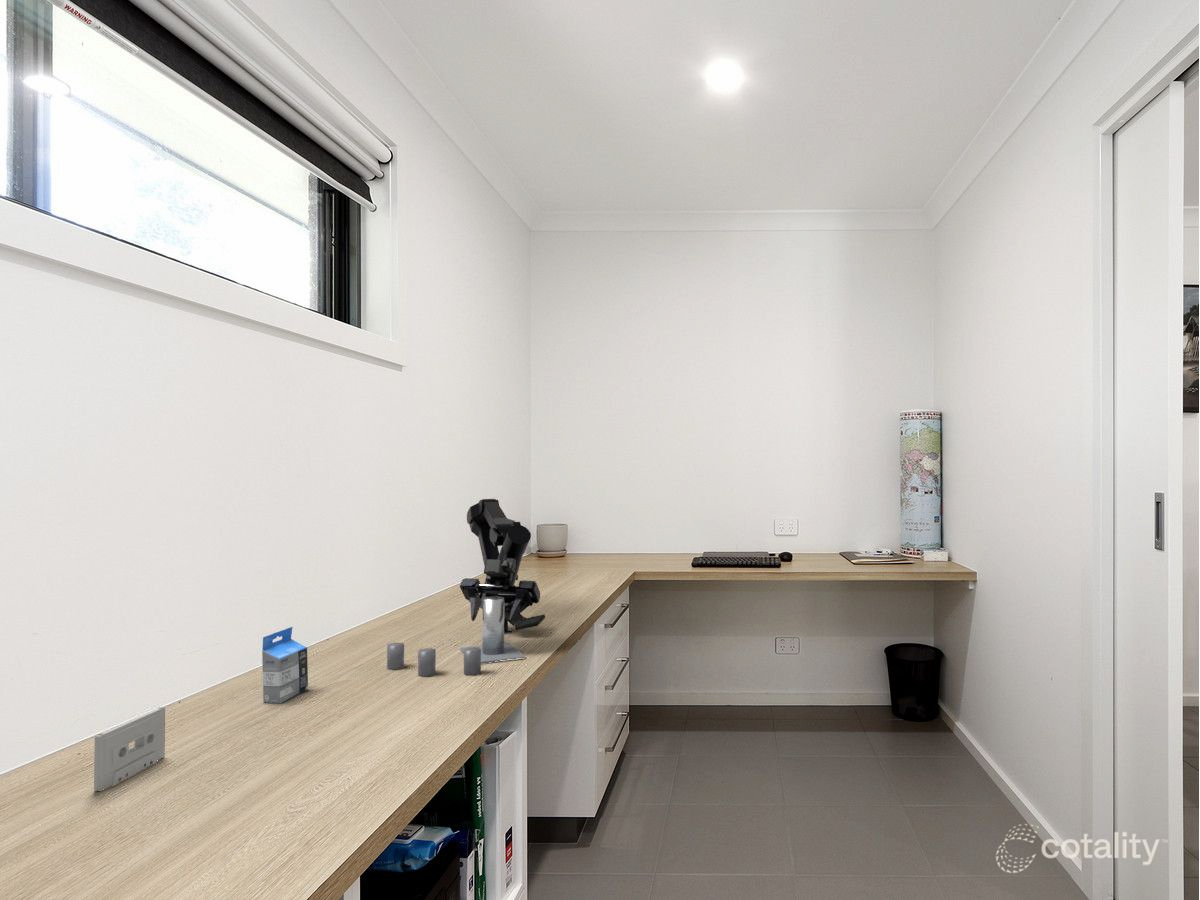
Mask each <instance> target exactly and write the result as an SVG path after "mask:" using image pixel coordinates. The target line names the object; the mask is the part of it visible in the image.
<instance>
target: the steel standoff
mask: <svg viewBox="0 0 1200 900" xmlns="http://www.w3.org/2000/svg"><path fill="white" fill-rule="evenodd" d="M481 643H482V645H481V646H482V653H483V654H486V655H498V654H502V653H504V643H505V633H504V597H498V596H491V597H485V598H483V609H482V642H481Z"/></svg>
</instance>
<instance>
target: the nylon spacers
mask: <svg viewBox="0 0 1200 900" xmlns="http://www.w3.org/2000/svg"><path fill="white" fill-rule="evenodd" d="M470 647H471V648H466V649H464V654H463V675H464V676H468V675H473V676H477V674H479V675H481V673H482V664H481V649H480V648H477V647H473V646H470ZM436 652H437V651H436V648H429V647H427V648H421V649H418V651H417V655H418V656H417V660H418V661H417V675H418V676H419V677H422V678H423V677H424V678H427V677H428V676H429V677H433V676H435V675H436V674H437V673H436V671H437V669H436V666H437V665H436V662H437V661H436V660H437V656H436ZM404 668H405V643H404V642H391V643H388V644H386V669H387V670H389V671H395V670H401V669H404ZM429 677H428V678H429Z"/></svg>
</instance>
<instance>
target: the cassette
mask: <svg viewBox="0 0 1200 900" xmlns="http://www.w3.org/2000/svg"><path fill="white" fill-rule="evenodd" d="M133 742H134V746H132V747H129V744H130V743H133ZM165 756H166V708H165V707H159V706H158V707H156V708H154V709H152V710H149V711H147V712H146V713H143V714H141V715H138V716H137V717H133V718H132V719H130V720H128V721H125V722H122V723H120V724H119V725H116V726H113V727H111V728H110V729H106V730H105V731H104V730H103V732H100V733H98V734H96V735H95V737H94V757H93V760H94V769H93V770H94V771H93V772H94V773H93V777H94V778H93V791H94V792H96V791H101V792H103V791H104V790H103V789H105V788H107V789H109V788H111V787H110V786H113V787H115V786H116V784H117V783H119V782H121V781H122V782H124V781H126V780H127V779H126V778H128V779H130V778H131V777H130V776H132V777H133V776H135V775H137V774H138V773H137V772H139V773H140V771H141V770H143V769H145V768H146V769H148V768H150V767H151V765H152V764H154V763H156V762H158V761H157V760H159V759H161V758H163V757H164V758H165ZM164 758H163V759H164ZM161 760H162V759H161ZM159 761H160V760H159ZM156 764H157V763H156ZM154 765H155V764H154ZM149 766H150V767H149ZM152 766H153V765H152ZM147 767H148V768H147ZM146 769H145V770H146ZM143 771H144V770H143ZM141 772H142V771H141ZM136 773H137V774H136ZM134 774H135V775H134ZM129 777H130V778H129ZM125 779H126V780H125ZM123 780H124V781H123ZM122 782H121V783H122ZM119 784H120V783H119ZM114 785H115V786H114ZM117 785H118V784H117ZM108 787H109V788H108ZM102 790H103V791H102ZM105 790H106V789H105Z"/></svg>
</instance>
